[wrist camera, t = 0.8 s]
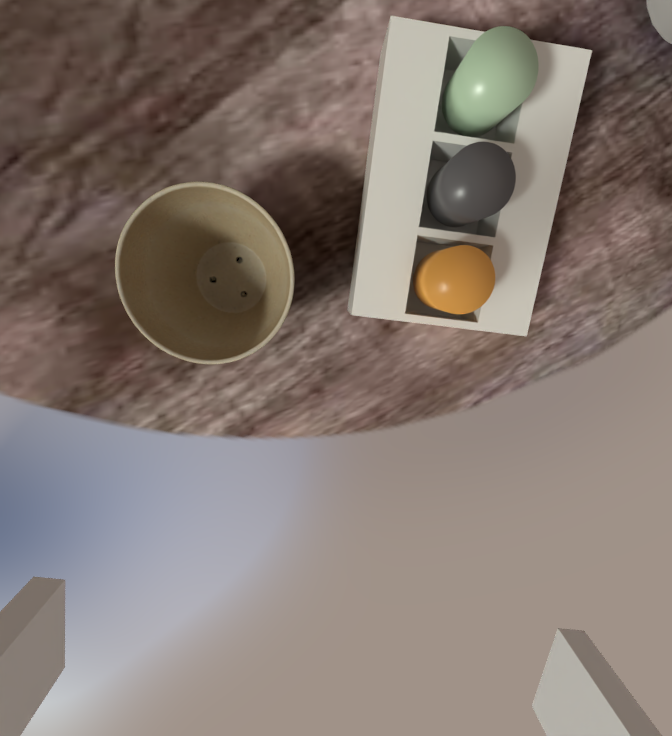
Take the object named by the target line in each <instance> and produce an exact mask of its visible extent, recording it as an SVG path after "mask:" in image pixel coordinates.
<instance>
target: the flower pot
mask: <svg viewBox="0 0 672 736" xmlns="http://www.w3.org/2000/svg"><path fill="white" fill-rule="evenodd" d="M238 257H239V261H238V262H237V260H236V259H237V258H238ZM115 275H116V282H117V288H118V292H119V296H120V298H121V301H122V303H123V305H124V307H125V310H126V312H127V313H128V315H129V317H130V318H131V320H132V321H133V323H134V324H135V326H136V327H137V328H138V329H139V330H140V332H141V333H142V334H143V335H144V336H145V337H146V338H147V339H148V340H149V341H151V342H152V343H153V344H154V345H156V346H157V347H158V348H160V349H161V350H163V351H165V352H167V353H168V354H171V355H173V356H175V357H177V358H180V359H183V360H186V361H190V362H194V363H200V364H222V363H228V362H233V361H236V360H239V359H242V358H244V357H247V356H249V355H251V354H252V353H254V352H256V351H257V350H259V349H260V348H262V347H263V346H264V345H266V344H267V343H268V342H269V341H270V340H271V339H272V338H273V337H274V335H275V334H276V333H277V332H278V330H279V329H280V327H281V326H282V324H283V322H284V321H285V319H286V317H287V314H288V312H289V309H290V306H291V303H292V299H293V293H294V282H295V278H294V267H293V261H292V256H291V252H290V249H289V246H288V244H287V241H286V239H285V237H284V235H283V233H282V231H281V230H280V228H279V226H278V225H277V223H276V222H275V221H274V219H273V218H272V217H271V216H270V215H269V214H268V213H267V211H266V210H265V209H264V208H262V207H261V206H260V205H259V204H258V203H257V202H255V201H254V200H253V199H251V198H250V197H248V196H247V195H245V194H243V193H241V192H239V191H237V190H235V189H233V188H230V187H227V186H224V185H220V184H216V183H210V182H188V183H181V184H177V185H173V186H170V187H167V188H165V189H163V190H161V191H159V192H157V193H155V194H154V195H152V196H151V197H149V198H148V199H147V200H146V201H144V202H143V203H142V204H141V205H140V206H139V207H138V208H137V209H136V210H135V211H134V213H133V214H132V215H131V217H130V218H129V220H128V221H127V223H126V224H125V226H124V228H123V231H122V233H121V235H120V238H119V241H118V245H117V250H116V258H115ZM213 280H215V281H216V282H214V283H212V281H213ZM244 291H245V292H246V293H247V295H245V294H244Z"/></svg>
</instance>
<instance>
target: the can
mask: <svg viewBox="0 0 672 736" xmlns="http://www.w3.org/2000/svg"><path fill="white" fill-rule="evenodd" d="M647 8H648V12H649V15H650V18H651V21H652V24H653V26H654V27H655V29H656V30H657V31H658V33H659V34H660V35H661V36H662V38H663V39H664V40H666V41H668V42H669V43H671V44H672V0H647Z"/></svg>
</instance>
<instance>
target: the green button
mask: <svg viewBox="0 0 672 736" xmlns="http://www.w3.org/2000/svg"><path fill="white" fill-rule="evenodd" d="M538 67H539V64H538V56H537V52H536V49H535V47H534V45H533V43H532V41H531V40H530V39H529V38H528V36H527V35H526V34H524V33H523V32H522V31H520V30H518V29H516V28H513V27H509V26H499V27H495V28H492V29H490V30H488V31H486V32H484V33H483V34H482V35H481V36H480V37H478V38H477V40H476V41H475V42H474V43H473V45H472V46H471V48H470V49H469V51H468V52H467V54H466V55H465V57H464V59H463V60H462V62H461V63H460V65H459V66H458V68H457V69H456V71H455V72H454V74H453V75H452V77H451V78H450V80H449V81H448V83H447V85H446V87H445V89H444V92H443V96H442V112H443V115H444V118H445V120H446V122H447V124H448V125H449V127H450V128H451V129H452V130H453V131H454V132H456V133H457V134H459V135H461V136H467V137H478V136H481V135H484V134H486V133H487V132H489V131H490V130H491V129H492V128H494V127H495V126H496V125H497V124H498V123H499V122H501V121H502V120H503V119H504V118H505V117H506V116H508V115H509V114H510V113H511V112H512V111H513V110H514V109H516V108H517V107H518V106H519V105H520V104H521V103H522V102H524V101H525V100H526V98H527V97H528V96H529V95H530V93H531V92H532V90H533V88H534V86H535V83H536V80H537V76H538Z"/></svg>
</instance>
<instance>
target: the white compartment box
mask: <svg viewBox="0 0 672 736" xmlns="http://www.w3.org/2000/svg"><path fill="white" fill-rule="evenodd" d="M483 33H484V32H483V31H477V30H471V29H466V28H460V27H454V26H448V25H442V24H436V23H431V22H425V21H419V20H413V19H407V18H402V17H396V16H391V17H390V21H389V25H388V28H387V32H386V36H385V40H384V43H383V47H382V51H381V54H380V62H379V70H378V78H377V85H376V93H375V101H374V109H373V116H372V124H371V132H370V140H369V147H368V155H367V163H366V171H365V178H364V186H363V194H362V202H361V209H360V217H359V225H358V233H357V240H356V248H355V256H354V264H353V271H352V279H351V287H350V295H349V302H348V311H349V313H350V314H351V315H356V316H364V317H372V318H380V319H389V320H397V321H405V322H413V323H422V324H430V325H438V326H446V327H455V328H463V329H471V330H479V331H488V332H496V333H504V334H512V335H521V336H527V333H528V328H529V324H530V319H531V315H532V311H533V306H534V302H535V298H536V293H537V289H538V284H539V280H540V276H541V271H542V267H543V263H544V258H545V254H546V250H547V245H548V241H549V236H550V232H551V228H552V223H553V219H554V215H555V210H556V206H557V202H558V197H559V193H560V188H561V184H562V180H563V175H564V171H565V167H566V162H567V158H568V153H569V149H570V145H571V140H572V136H573V132H574V127H575V123H576V119H577V114H578V110H579V105H580V101H581V97H582V92H583V88H584V84H585V79H586V75H587V71H588V66H589V62H590V57H591V53H592V50H588V49H582V48H576V47H570V46H565V45H559V44H553V43H547V42H541V41H535V40H531V41H532V43H533V45H534V47H535V49H536V52H537V56H538V64H539V67H538V76H537V80H536V83H535V86H534V88H533V90H532V92H531V93H530V95H529V96H528V97H527V98H526V100H525V101H524V102H522V103H521V104H520V105H519V106H518V107H517V108H516V109H514V110H513V111H512V112H511V113H510V114H509V115H508V116H506V117H505V118H504V119H503V120H502V121H501V122H499V123H498V124H497V125H496V126H495V127H494V128H492V129H491V130H490V131H489V132H487V133H486V134H484V135H481V136H478V137H467V136H461V135H459V134H457V133H456V132H454V131H453V130H452V129H451V128H450V127H449V125H448V124H447V122H446V120H445V118H444V115H443V112H442V96H443V92H444V89H445V87H446V85H447V83H448V81H449V80H450V78H451V77H452V75H453V74H454V72H455V71H456V69H457V68H458V66H459V65H460V63H461V62H462V60H463V59H464V57H465V55H466V54H467V52H468V51H469V49H470V48H471V46H472V45H473V43H474V42H475V41H476V40H477V38H478V37H480V36H481V35H482V34H483ZM476 142H491V143H494V144H496V145H498V146H500V147H502V148H503V149H504V150H505V151H506V152H507V153H508V154H509V156H510V157H511V159H512V161H513V164H514V167H515V172H516V182H515V188H514V191H513V194H512V196H511V198H510V200H509V201H508V203H507V204H506V205H505V206H504V207H503V208H502V209H501V210H500V211H499V212H497V213H496V214H494V215H492V216H489V217H486V218H484V219H481V220H478V221H475V222H473V223H470V224H467V225H464V226H461V227H449V226H446V225H443V224H441V223H440V222H438V221H437V220H436V219H435V218H434V217H433V215H432V214H431V212H430V210H429V208H428V204H427V189H428V186H429V183H430V181H431V179H432V177H433V176H434V174H435V173H436V172H437V171H438V170H439V169H440V168H441V167H442V166H444V165H445V164H446V163H447V162H448V161H449V160H450V159H451V158H452V157H453V156H455V155H456V154H457V153H458V152H459V151H460V150H461V149H463V148H464V147H466V146H467V145H469V144H472V143H476ZM459 245H469V246H474V247H476V248H478V249H480V250H482V251H483V252H484V253H485V254H486V255H487V256H488V257H489V258H490V260H491V261H492V264H493V266H494V270H495V285H494V289H493V291H492V294H491V296H490V297H489V299H488V300H487V301H486V302H485V304H484V305H482V306H481V307H480V308H478V309H477V310H475V311H473V312H470V313H467V314H452V313H448V312H445V311H441V310H437V309H434V308H430V307H428V306H426V305H425V304H423V303H422V302H421V301H420V300H419V298H418V297H417V295H416V293H415V291H414V287H413V276H414V272H415V269H416V267H417V265H418V264H419V262H420V261H421V260H422V259H423V258H424V257H425V256H426V255H428V254H429V253H431V252H434V251H437V250H442V249H446V248H450V247H454V246H459Z"/></svg>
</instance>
